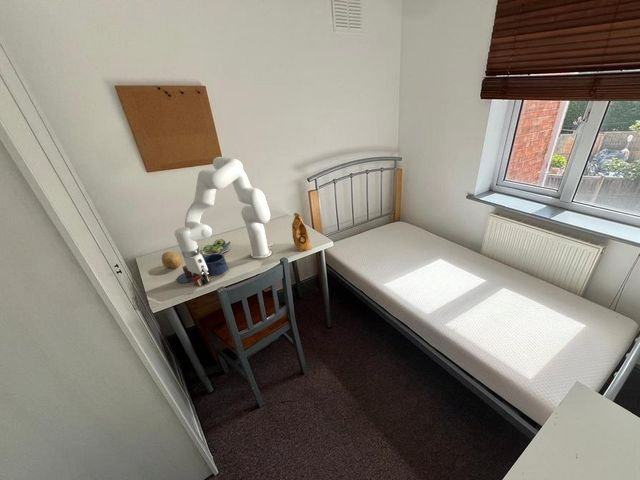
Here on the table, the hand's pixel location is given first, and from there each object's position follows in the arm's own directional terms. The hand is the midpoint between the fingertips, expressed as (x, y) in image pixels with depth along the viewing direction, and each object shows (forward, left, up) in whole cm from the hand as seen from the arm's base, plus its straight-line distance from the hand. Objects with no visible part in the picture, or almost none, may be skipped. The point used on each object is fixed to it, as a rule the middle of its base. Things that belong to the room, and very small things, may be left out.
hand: (202, 282), depth 154 cm
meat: (0, 0, 0) cm, 0 cm away
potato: (-6, -31, -1) cm, 32 cm away
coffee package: (-58, +23, -1) cm, 62 cm away
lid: (-1, -11, 0) cm, 11 cm away
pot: (-12, -3, 0) cm, 12 cm away
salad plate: (-32, -26, -1) cm, 41 cm away
